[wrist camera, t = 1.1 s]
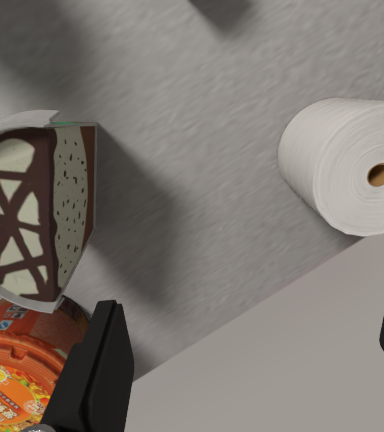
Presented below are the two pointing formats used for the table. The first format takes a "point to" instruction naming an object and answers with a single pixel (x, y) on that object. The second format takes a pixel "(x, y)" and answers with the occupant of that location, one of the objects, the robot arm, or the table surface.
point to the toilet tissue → (338, 162)
